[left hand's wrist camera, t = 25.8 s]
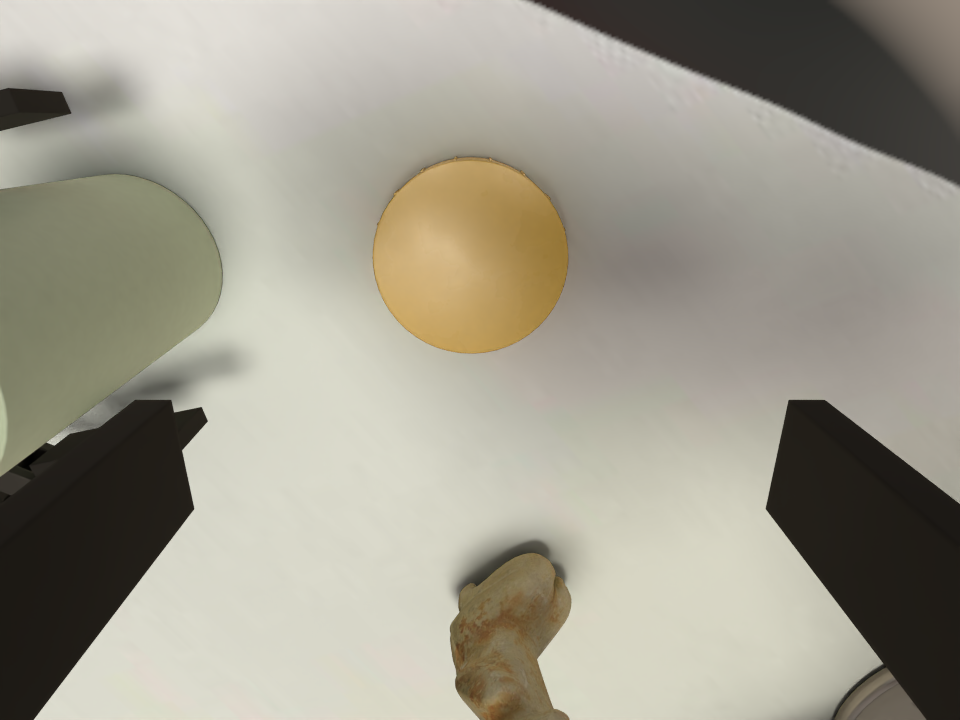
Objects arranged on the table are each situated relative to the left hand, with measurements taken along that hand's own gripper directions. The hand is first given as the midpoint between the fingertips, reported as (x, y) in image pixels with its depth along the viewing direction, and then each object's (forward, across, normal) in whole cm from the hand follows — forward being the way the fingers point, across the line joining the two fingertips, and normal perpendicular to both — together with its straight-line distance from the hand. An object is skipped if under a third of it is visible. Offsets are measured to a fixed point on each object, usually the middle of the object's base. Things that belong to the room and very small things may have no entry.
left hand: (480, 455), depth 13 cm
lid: (+16, 0, -1) cm, 17 cm away
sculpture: (+19, -2, +20) cm, 28 cm away
